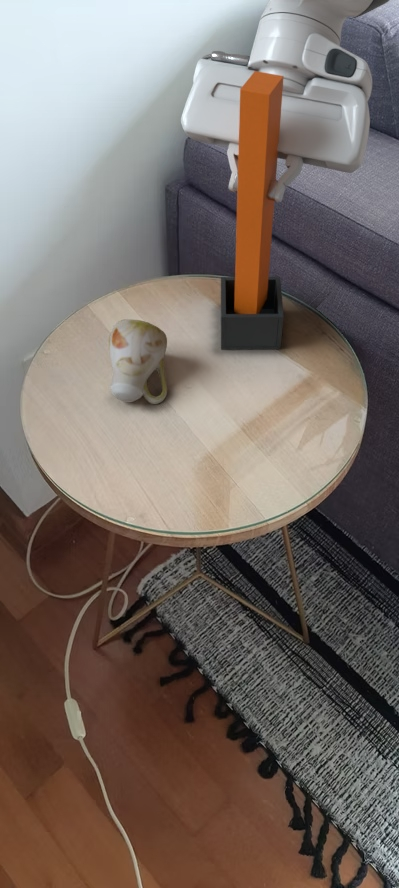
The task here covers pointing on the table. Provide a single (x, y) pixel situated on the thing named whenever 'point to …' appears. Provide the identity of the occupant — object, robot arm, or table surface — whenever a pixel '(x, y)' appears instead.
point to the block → (256, 187)
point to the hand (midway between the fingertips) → (254, 195)
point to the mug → (136, 359)
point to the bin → (251, 319)
